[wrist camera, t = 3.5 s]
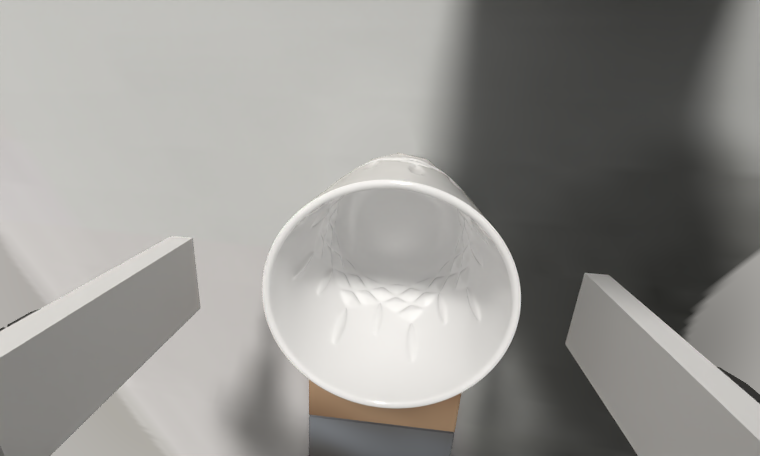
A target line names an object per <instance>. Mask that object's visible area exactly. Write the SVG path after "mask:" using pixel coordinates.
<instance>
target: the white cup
mask: <svg viewBox="0 0 760 456" xmlns="http://www.w3.org/2000/svg"><path fill="white" fill-rule="evenodd" d="M262 301H263V308H264V313H265V317H266V320H267V323H268V326H269V329H270V331H271V333H272V335H273V337H274V339H275V341H276V343H277V345H278V346H279V348H280V349H281V351H282V352H283V354H284V355H285V356H286V358H287V359H288V360H289V361H290V362H291V363H292V365H293V366H294V367H295V368H296V369H297V370H298V371H300V372H301V373H302V374H303V375H304V376H305V377H307V378H308V379H309V380H310V381H312V382H313V383H315V384H316V385H318V386H319V387H321V388H322V389H324V390H326V391H328V392H330V393H332V394H334V395H336V396H338V397H341V398H343V399H346V400H348V401H351V402H355V403H358V404H362V405H367V406H372V407H379V408H392V409H401V408H414V407H421V406H426V405H431V404H435V403H438V402H441V401H444V400H447V399H449V398H452V397H454V396H456V395H458V394H460V393H462V392H464V391H466V390H467V389H469V388H471V387H472V386H474V385H475V384H476V383H478V382H479V381H480V380H482V379H483V378H484V377H485V376H486V375H487V374H488V373H489V372H490V371H491V370H492V369H493V368H494V367H495V366H496V365H497V364H498V362H499V361H500V360H501V358H502V357H503V355H504V354H505V352H506V351H507V349H508V347H509V345H510V343H511V341H512V339H513V337H514V334H515V332H516V329H517V325H518V321H519V316H520V309H521V289H520V281H519V276H518V272H517V269H516V266H515V263H514V260H513V258H512V255H511V253H510V251H509V249H508V247H507V246H506V244H505V242H504V241H503V239H502V238H501V236H500V235H499V233H498V232H497V231H496V230H495V228H494V227H493V226H492V225H491V224H490V223H489V221H488V220H487V219H486V218H485V217H484V215H483V214H482V213H481V212H480V211H479V209H478V208H477V207H476V206H475V204H474V203H473V202H472V201H471V199H470V198H469V197H468V196H467V194H466V193H465V192H464V191H463V190H462V189H461V188H460V187H459V186H458V185H457V184H456V183H455V182H454V181H453V180H452V179H451V178H450V177H449V176H448V175H447V174H446V173H444V172H443V171H441V170H440V169H438V168H437V167H436V166H435V165H433V164H432V163H431V162H430V161H428V160H427V159H423V158H419V157H415V156H410V155H406V154H402V153H396V154H392V155H388V156H384V157H379V158H375V159H371V160H370V161H368V162H367V163H366V164H363V165H361V166H359V167H357V168H356V169H354V170H353V171H351V172H350V173H348V174H346V175H345V176H343V177H342V178H340V179H339V180H337V181H336V182H335V183H334V184H332V185H331V186H330V187H329V188H328V189H326V190H325V191H324V192H322V193H321V194H320V195H318V196H317V197H316V198H315V199H313V200H312V201H311V202H309V203H308V204H307V205H305V206H304V207H303V208H302V209H300V210H299V211H298V212H297V213H296V214H295V215H294V216H293V217H292V218H291V219H290V220H289V221H288V222H287V223H286V224H285V226H284V227H283V228H282V230H281V231H280V232H279V234H278V236H277V237H276V239H275V241H274V242H273V244H272V247H271V249H270V251H269V254H268V256H267V259H266V263H265V267H264V271H263V278H262Z"/></svg>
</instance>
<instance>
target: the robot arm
mask: <svg viewBox="0 0 760 456" xmlns="http://www.w3.org/2000/svg"><path fill="white" fill-rule="evenodd" d="M199 309H200V300H199V291H198V282H197V273H196V264H195V255H194V246H193V238H188V237H176V236H170V237H168V238H167V239H165V240H163V241H161V242H159V243H158V244H156V245H154V246H152V247H150V248H149V249H147V250H145V251H143V252H141V253H140V254H138V255H136V256H134V257H132V258H131V259H129V260H127V261H125V262H123V263H122V264H120V265H118V266H116V267H114V268H113V269H111V270H109V271H107V272H106V273H104V274H102V275H100V276H98V277H97V278H95V279H93V280H91V281H89V282H88V283H86V284H84V285H82V286H80V287H79V288H77V289H75V290H73V291H71V292H70V293H68V294H66V295H64V296H62V297H61V298H59V299H57V300H55V301H54V302H52V303H50V304H48V305H46V306H45V307H43V308H41V309H38V310H35V311H33V312H30V313H28V314H26V315H25V316H23V317H21V318H19V319H17V320H16V321H14V322H12V323H10V324H8V326H7V328H1V329H0V456H50V455H51V454H52V453H53V452H55V450H56V449H57V448H59V447H60V446H61V444H63V443H64V442H65V441H66V440H67V439H68V438H69V437H70V436H71V435H72V434H73V433H74V432H75V431H76V430H77V429H78V428H79V427H80V426H81V425H82V424H83V423H84V422H85V421H86V420H87V419H88V418H89V417H90V416H91V415H92V414H93V413H94V412H95V411H96V410H97V409H98V408H99V407H100V406H101V405H102V404H103V403H104V402H105V401H106V400H107V399H108V398H109V397H110V396H111V395H112V394H114V392H116V391H117V390H118V389H119V388H120V387H121V386H122V385H123V384H124V383H125V382H126V381H127V380H128V379H129V378H130V377H131V376H132V375H133V374H134V373H135V372H136V371H137V370H138V369H139V368H140V367H141V366H142V365H143V364H144V363H145V362H146V361H147V360H148V359H149V358H150V357H151V356H152V355H153V354H154V353H155V352H156V351H157V350H158V349H159V348H160V347H161V346H162V345H163V344H164V343H165V342H166V341H167V340H168V339H169V338H170V337H171V336H173V335H174V334H175V333H176V332H177V331H178V330H179V329H180V328H181V327H182V326H183V325H184V324H185V323H186V322H187V321H188V320H189V319H190V318H191V317H192V316H193V315H194V314H195V313H196V312H197V311H198V310H199ZM565 345H566V346H567V348H568V349H569V351H570V352H571V354H572V355H573V357H574V358H575V360H576V362H577V363H578V365H579V366H580V368H581V369H582V371H583V372H584V374H585V375H586V377H587V378H588V380H589V381H590V383H591V385H592V386H593V388H594V389H595V391H596V392H597V394H598V395H599V397H600V398H601V400H602V401H603V403H604V404H605V406H606V408H607V409H608V411H609V412H610V414H611V415H612V417H613V418H614V420H615V421H616V423H617V424H618V426H619V427H620V429H621V431H622V432H623V434H624V435H625V437H626V438H627V440H628V441H629V443H630V444H631V446H632V447H633V449H634V450H635V452H636V454H637V455H638V456H760V395H759V394H758V393H757V392H756V391H755V390H754V389H752V388H751V387H750V386H749V385H747V384H746V383H744V382H743V381H741V380H740V379H738V378H736V377H734V376H733V375H731V374H729V373H728V372H726V371H724V370H723V369H721V368H719V367H716V366H715V365H714V364H712V363H711V362H710V361H709V360H708V359H707V358H705V357H704V356H703V355H702V354H701V353H700V352H698V351H697V350H696V349H695V348H694V347H692V346H691V345H690V344H689V343H688V342H687V341H686V340H684V339H683V338H682V337H681V336H680V335H679V334H677V333H676V332H675V331H674V330H673V329H672V328H670V327H669V326H668V325H667V324H666V323H665V322H663V321H662V320H661V319H660V318H659V317H657V316H656V315H655V314H654V313H653V312H652V311H650V310H649V309H648V308H647V307H646V306H645V305H643V304H642V303H641V302H640V301H639V300H638V299H636V298H635V297H634V296H633V295H632V294H631V293H629V292H628V291H627V290H626V289H625V288H624V287H622V286H621V285H620V284H619V283H618V282H617V281H615V280H614V279H613V278H612V277H611V276H610V275H604V274H593V273H584V277H583V281H582V284H581V288H580V291H579V295H578V299H577V302H576V306H575V310H574V313H573V317H572V321H571V324H570V328H569V331H568V335H567V339H566V342H565Z"/></svg>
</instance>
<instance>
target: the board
mask: <svg viewBox="0 0 760 456" xmlns="http://www.w3.org/2000/svg"><path fill="white" fill-rule="evenodd" d="M460 397H461V393H460V394H458V395H456V396H454V397H452V398H449V399H447V400H444V401H441V402H438V403H435V404H431V405H426V406H421V407H414V408H401V409H392V408H379V407H372V406H367V405H362V404H358V403H355V402H351V401H348V400H346V399H343V398H341V397H338V396H336V395H334V394H332V393H330V392H328V391H326V390H324V389H322V388H321V387H319V386H318V385H316V384H315V383H313V382H312V381H310V380H309V415H310V416H309V456H450V454H451V449H452V443H453V437H454V432H455V426H456V420H457V414H458V409H459V403H460Z"/></svg>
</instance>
